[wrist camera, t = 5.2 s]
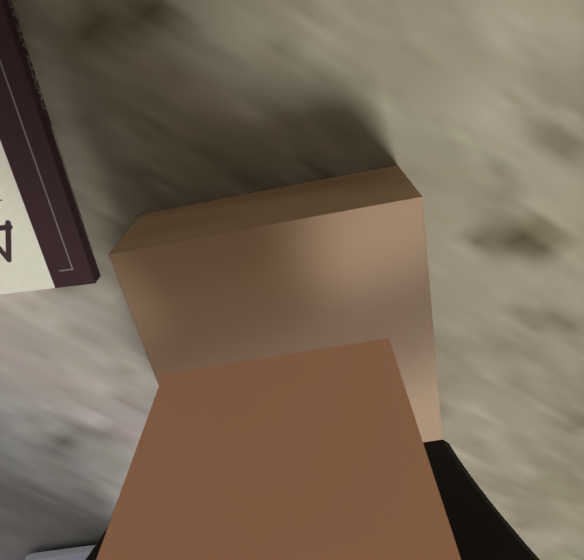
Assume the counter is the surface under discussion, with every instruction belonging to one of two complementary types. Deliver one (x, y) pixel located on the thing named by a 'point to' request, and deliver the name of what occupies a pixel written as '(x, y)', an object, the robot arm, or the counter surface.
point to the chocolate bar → (34, 182)
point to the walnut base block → (287, 278)
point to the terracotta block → (282, 465)
